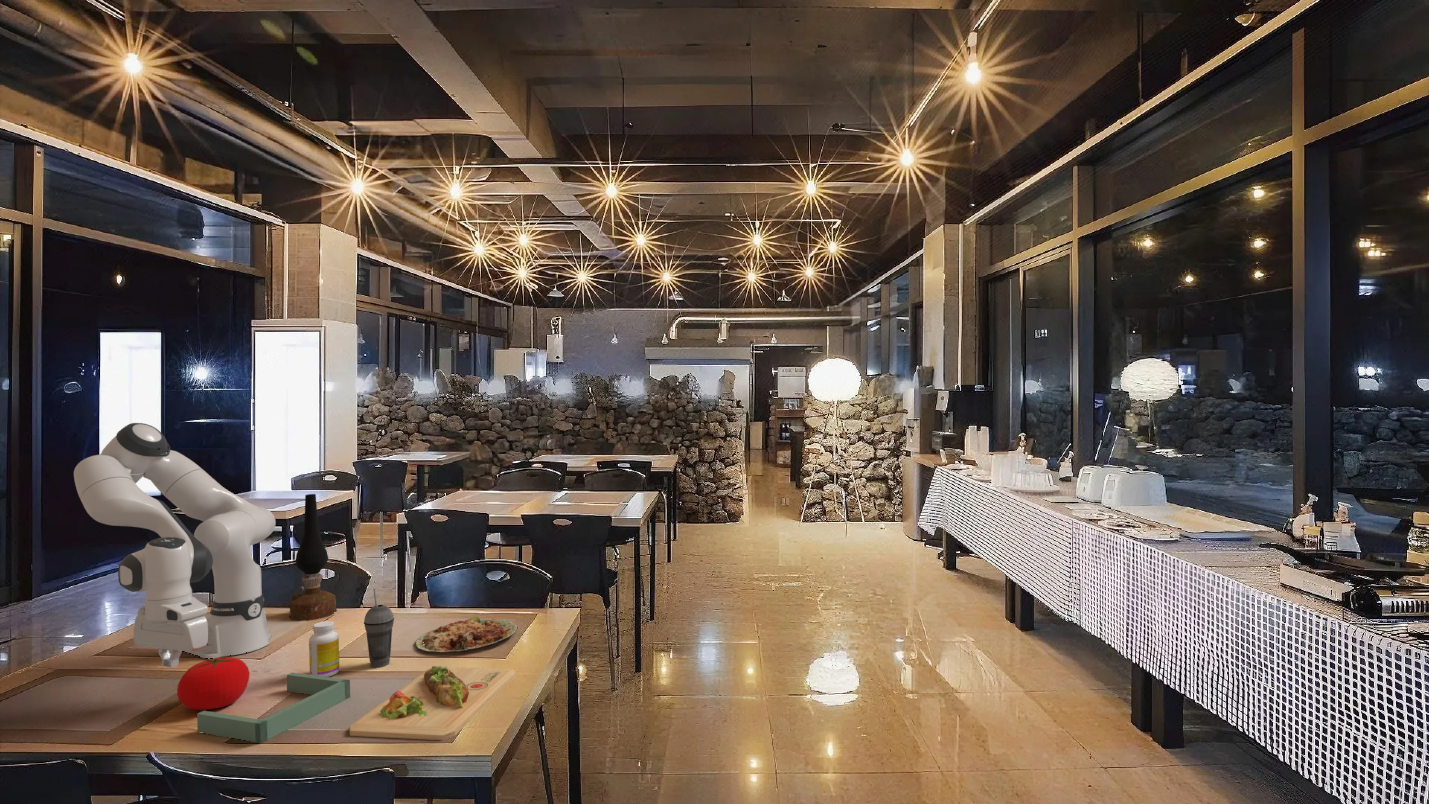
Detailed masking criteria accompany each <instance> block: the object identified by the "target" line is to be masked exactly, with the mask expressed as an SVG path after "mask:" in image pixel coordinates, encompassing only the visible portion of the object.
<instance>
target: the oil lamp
mask: <svg viewBox="0 0 1429 804" xmlns="http://www.w3.org/2000/svg"><path fill="white" fill-rule="evenodd" d="M304 498H305V499H304V521H303V523H304V525H303V532H302V533H303V535H302V538H301V540H300V544H299V548H298V549H297V552H296V556H295V560H294V561H295V566H296V567H297V568H298V570H300V571H301V572H303V573H304V575H303V576H302V577H301V580H302V583H303V584H304V586H303V585H302V586H300V587H299V592H302V593H294V594H292V595H291V597H292V598H291V600H290V601H289V616H288V619H289V618H290V619H289V620H291V619H292V620H291V621H295V620H306V621H313V620H318V619H319V618H320V619H323V618H324V619H325V618H327V617H329V616H332V614H333V615H334V614H335V613H334V612H338V609H337V607H336V606H337V604H336V603H337V601H336V599H337V598H336V595H335V594H333V593H331V592H330V591H329V592H328V591H327V590H321V587H322V586H321V582H322V579H323V577H324V575H323V574H322V573H320V572H321V571H322V570H323V569H324V568H325V567H326V565H327V564H328V562H329V555H328V551H327V548H326V547H325V545H324V543H323V540H322V539H323V538H322V536H321V534H320V528H319V520H318V519H319V517H318V506H317V494H316V493H310V494H308V493H307V494H305V497H304ZM303 591H304V592H303ZM320 619H319V620H320Z"/></svg>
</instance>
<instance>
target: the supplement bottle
mask: <svg viewBox="0 0 1429 804" xmlns="http://www.w3.org/2000/svg"><path fill="white" fill-rule="evenodd" d="M334 627H335V622H334V621H332V620H331V621H330V620H325V621H319V622H317V623H315V624H313V625H312V631H313V634H312V635H310V637H309V639H308V648H309V649H308V650H309V651H308V653H309V675H315V676H323V677H331V676H334V675H337V674H338V672H340V643H339V641H340V640H339V638H340V637H339V633H338V632H337V631H334Z"/></svg>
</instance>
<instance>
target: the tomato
mask: <svg viewBox="0 0 1429 804" xmlns="http://www.w3.org/2000/svg"><path fill="white" fill-rule="evenodd" d="M250 674H251V673H250V670H249V666H248V665H247V664H246V663H245V662H244V661H243V660H242V659H241V658H237V657H230V656H222V657H218V658H213V659H205V660H203V661H201V662H198V663H195V664H194V665H192V666H191V667H190V668H188V669H187V670H186V671H185V673H184V674H183V675H182V676H181V678H180V680H179V682H178V684H177V689H176V691H177V692H176V693H177V698H178V701H179V703H180V704H182V705H183V706H184V707H186V708H188V709H189V710H193V711H194V710H196V711H207V710H215V709H219V708H220V709H221V708H225V707H226V706H230V705H231V704H234V702H236V701H238V700H239V699H240V698H241V696H242V695H243V694H244V693H245V691H246V688H247V686H248V683H249V680H250Z"/></svg>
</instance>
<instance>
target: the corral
mask: <svg viewBox="0 0 1429 804" xmlns="http://www.w3.org/2000/svg"><path fill="white" fill-rule="evenodd" d="M286 692H289V693H296V694H302V693H304V694H303V695H310V696H307V697H305V698H303V699H302V700H299V701H297V702H295V703H293V704H290V705H289V706H287V707H284V708H283V709H280V710H279V711H277V712H275V713H273V714H271V715H268V716H266V717H263V719H259V718H252V717H248V716H247V717H246V716H239V715H234V714H228V713H222V712H221V713H220V712H215V711H207V710H201V711H200V712H198V713H197V714H196V716H197V717H196V718H197V719H196V721H197V722H196V723H197V725H196V726H197V730H196V731H197V733H198V732H203V733H206V734H205V735H208V734H213V735H212V736H214V735H217V736H216V737H220V736H221V737H220V738H226V737H231V738H236V739H235V740H237V739H241V740H240V741H243V740H246V741H245V742H249V741H250V742H249V743H257V744H263V743H265V742H266V740H267V741H269V740H271V739H272V738H274V737H276V736H278V735H280V734H282V733H284V732H285V731H288V730H290V729H292V728H293V727H296V726H297V725H299V724H301V723H302V722H305V721H306V720H307V721H308V719H310V718H313V717H315V716H317V715H318V714H321V713H323V712H324V711H326V710H328V709H330V708H332V707H333V706H336V705H337V704H340V703H341V702H343V701H345V700H347V699H349V698H351V679H345V678H338V677H331V676H329V677H323V676H315V675H310V674H306V673H299V672H290V673H288V674H286ZM231 738H230V739H231Z"/></svg>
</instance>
